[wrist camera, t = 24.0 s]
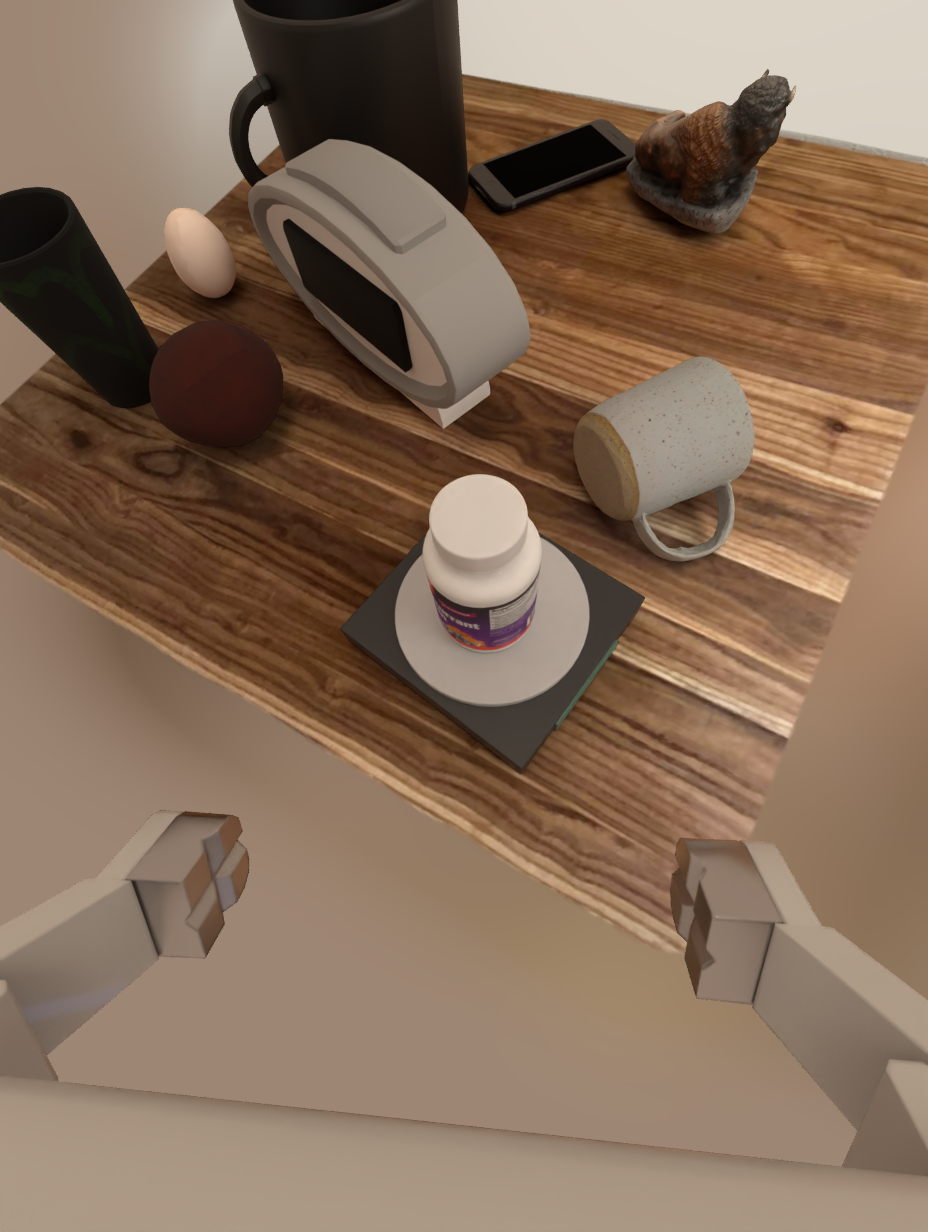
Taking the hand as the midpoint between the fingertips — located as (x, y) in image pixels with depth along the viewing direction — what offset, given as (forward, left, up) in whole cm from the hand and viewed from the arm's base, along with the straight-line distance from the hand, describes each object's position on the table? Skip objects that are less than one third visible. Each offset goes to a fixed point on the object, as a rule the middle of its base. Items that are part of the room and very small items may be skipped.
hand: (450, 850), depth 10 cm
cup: (+43, -10, -20) cm, 49 cm away
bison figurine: (+17, -51, -20) cm, 58 cm away
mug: (+41, -36, -20) cm, 58 cm away
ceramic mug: (+4, -24, -20) cm, 32 cm away
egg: (+45, -21, -20) cm, 54 cm away
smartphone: (+30, -50, -20) cm, 62 cm away
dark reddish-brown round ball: (+32, -12, -20) cm, 40 cm away
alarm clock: (+27, -24, -20) cm, 41 cm away
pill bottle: (+7, -10, -17) cm, 21 cm away
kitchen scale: (+7, -10, -20) cm, 23 cm away
